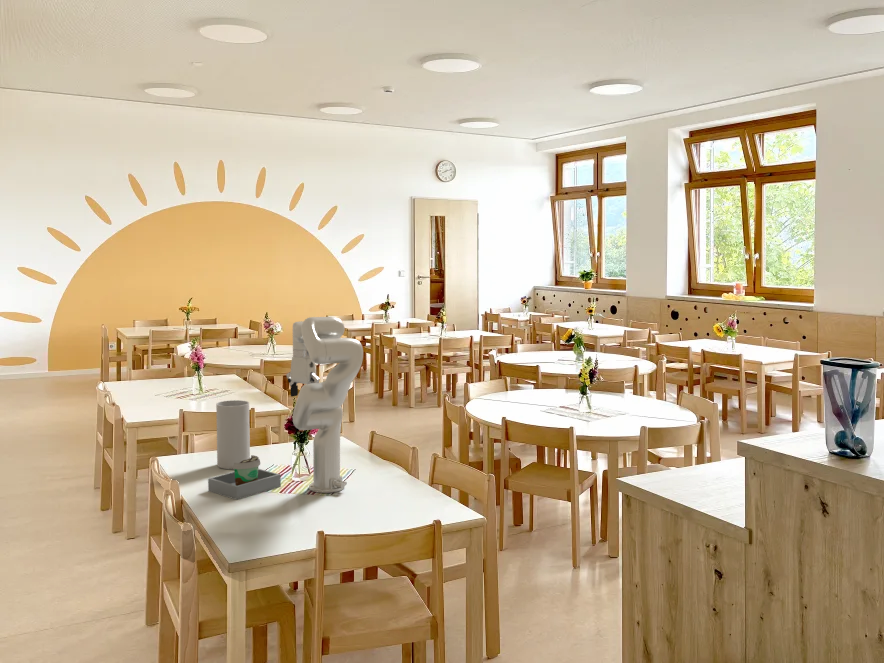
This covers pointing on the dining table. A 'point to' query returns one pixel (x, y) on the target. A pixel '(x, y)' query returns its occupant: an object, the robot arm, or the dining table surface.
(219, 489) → the bin
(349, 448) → the dining table surface
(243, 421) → the cylinder vase
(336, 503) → the dining table surface
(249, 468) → the food container
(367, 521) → the dining table surface
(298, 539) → the dining table surface
